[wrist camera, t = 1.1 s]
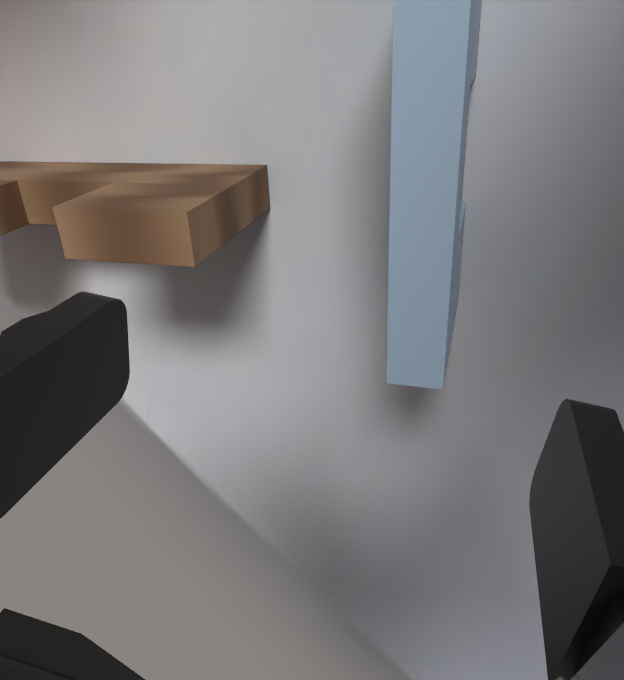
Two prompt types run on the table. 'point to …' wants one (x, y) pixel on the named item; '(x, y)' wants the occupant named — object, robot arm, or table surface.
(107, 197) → the walnut plate
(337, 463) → the table surface
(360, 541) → the table surface
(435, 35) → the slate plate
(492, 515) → the table surface
